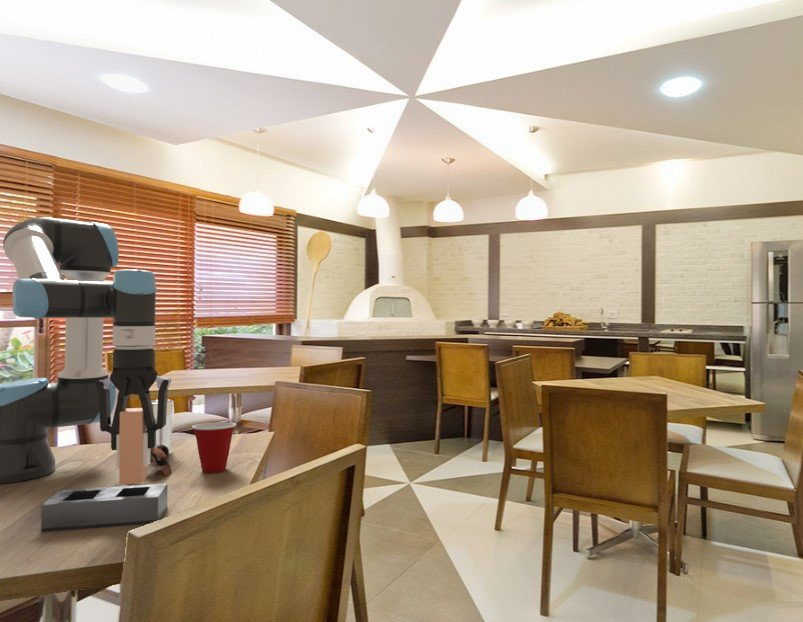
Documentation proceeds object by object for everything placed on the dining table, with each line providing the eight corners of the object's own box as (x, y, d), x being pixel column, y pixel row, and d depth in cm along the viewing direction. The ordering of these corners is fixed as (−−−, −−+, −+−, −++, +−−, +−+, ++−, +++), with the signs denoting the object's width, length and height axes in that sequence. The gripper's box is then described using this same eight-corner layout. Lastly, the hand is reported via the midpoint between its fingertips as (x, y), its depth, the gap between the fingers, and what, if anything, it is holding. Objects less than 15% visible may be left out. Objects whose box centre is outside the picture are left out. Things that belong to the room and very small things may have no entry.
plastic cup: (236, 462, 139) (237, 418, 139) (235, 474, 129) (235, 426, 129) (194, 465, 136) (194, 420, 136) (188, 477, 126) (189, 429, 126)
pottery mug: (163, 482, 124) (144, 455, 122) (132, 497, 125) (112, 470, 124) (185, 456, 136) (168, 430, 134) (156, 470, 137) (139, 445, 135)
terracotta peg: (119, 484, 99) (119, 412, 99) (125, 477, 103) (126, 408, 103) (141, 482, 100) (142, 411, 100) (147, 476, 104) (147, 407, 104)
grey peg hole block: (41, 532, 94) (41, 504, 94) (59, 515, 102) (60, 490, 102) (158, 522, 99) (158, 496, 99) (167, 507, 107) (167, 483, 107)
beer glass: (141, 455, 145) (141, 402, 145) (159, 449, 152) (160, 398, 152) (161, 457, 143) (161, 404, 143) (179, 451, 149) (179, 400, 150)
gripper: (79, 349, 96) (78, 473, 96) (176, 348, 100) (175, 468, 100) (93, 347, 103) (92, 462, 103) (183, 346, 107) (183, 457, 107)
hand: (133, 465), depth 102 cm, fingers closed on terracotta peg, 4 cm apart
